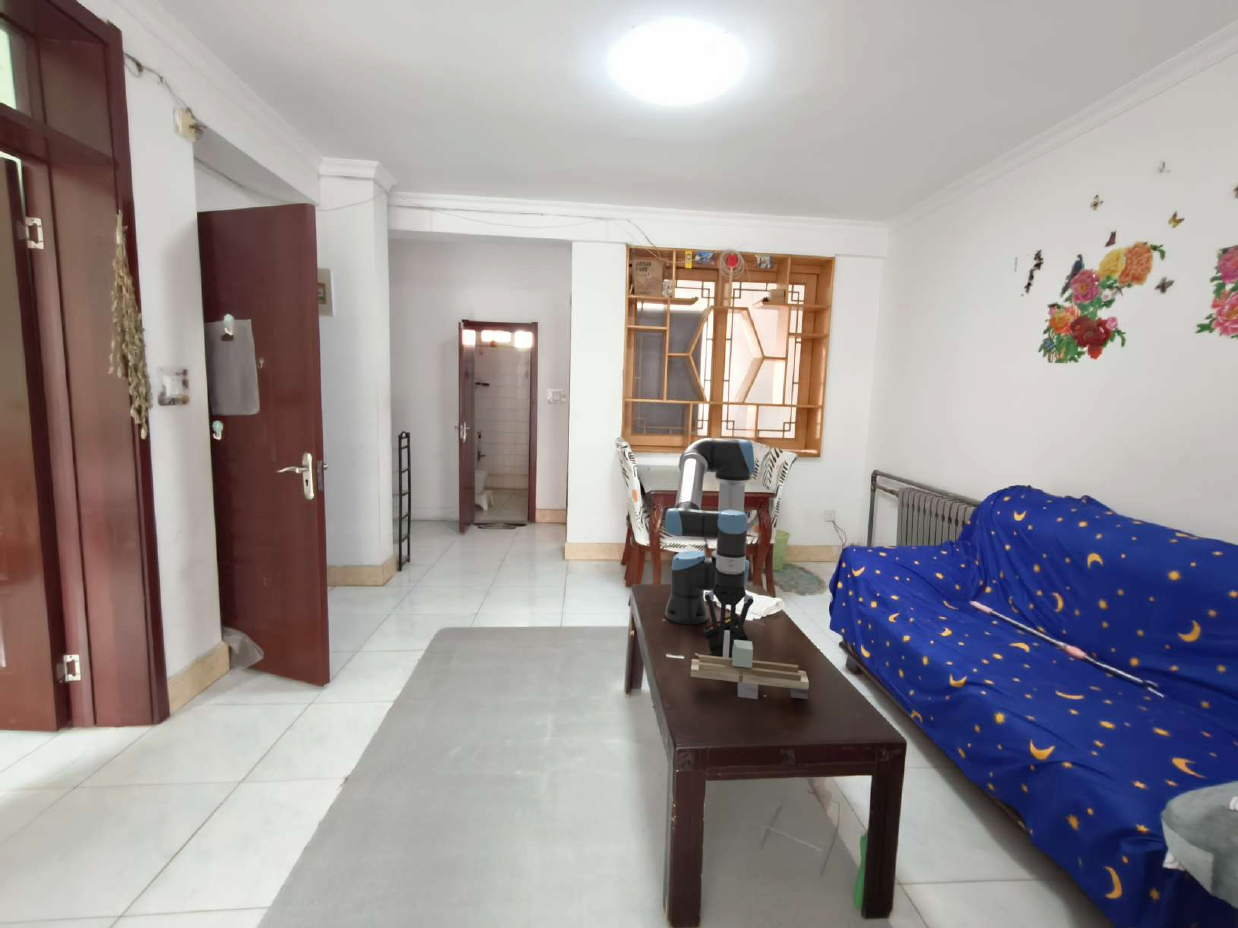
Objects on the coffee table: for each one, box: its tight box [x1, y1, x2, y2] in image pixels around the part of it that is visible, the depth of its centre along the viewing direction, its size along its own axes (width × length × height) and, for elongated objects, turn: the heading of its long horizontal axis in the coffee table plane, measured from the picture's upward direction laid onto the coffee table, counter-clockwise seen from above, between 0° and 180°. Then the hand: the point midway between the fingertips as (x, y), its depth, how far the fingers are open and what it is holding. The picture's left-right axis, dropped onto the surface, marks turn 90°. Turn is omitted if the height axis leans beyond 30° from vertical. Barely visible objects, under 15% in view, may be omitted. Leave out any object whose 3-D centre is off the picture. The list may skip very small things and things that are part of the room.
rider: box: [732, 640, 754, 668], centre depth 144 cm, size 5×5×7 cm
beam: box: [690, 654, 810, 700], centre depth 144 cm, size 6×30×8 cm, turn 80°
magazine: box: [702, 613, 749, 658], centre depth 159 cm, size 4×13×15 cm, turn 92°
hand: (725, 655), depth 145 cm, fingers closed
